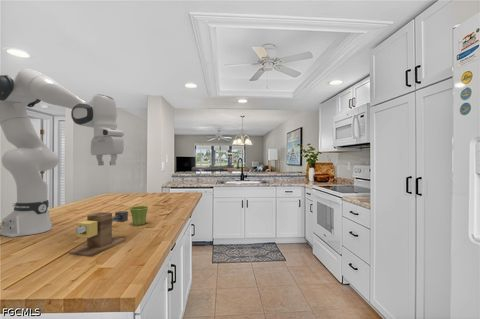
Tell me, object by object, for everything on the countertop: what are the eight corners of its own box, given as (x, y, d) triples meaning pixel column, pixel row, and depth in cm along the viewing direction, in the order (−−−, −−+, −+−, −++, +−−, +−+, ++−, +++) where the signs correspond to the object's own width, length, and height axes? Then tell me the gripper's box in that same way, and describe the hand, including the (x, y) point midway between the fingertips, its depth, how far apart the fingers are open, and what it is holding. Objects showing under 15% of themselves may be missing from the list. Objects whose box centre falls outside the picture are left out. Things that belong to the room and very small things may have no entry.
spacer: (88, 237, 90) (88, 223, 90) (77, 236, 91) (77, 223, 91) (97, 234, 94) (97, 221, 94) (86, 233, 95) (86, 220, 95)
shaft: (83, 236, 88) (83, 225, 88) (73, 236, 89) (73, 224, 89) (127, 220, 111) (127, 211, 111) (119, 220, 112) (119, 211, 112)
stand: (68, 253, 91) (69, 218, 91) (105, 238, 108) (105, 209, 108) (92, 256, 88) (92, 220, 88) (126, 240, 106) (126, 210, 106)
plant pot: (141, 226, 127) (142, 209, 127) (125, 225, 129) (125, 208, 129) (151, 222, 136) (152, 206, 136) (136, 221, 138) (136, 205, 138)
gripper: (86, 134, 110) (86, 165, 110) (111, 130, 99) (112, 165, 99) (100, 135, 116) (101, 165, 116) (126, 131, 104) (127, 164, 104)
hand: (106, 165), depth 107 cm, fingers open, 8 cm apart
